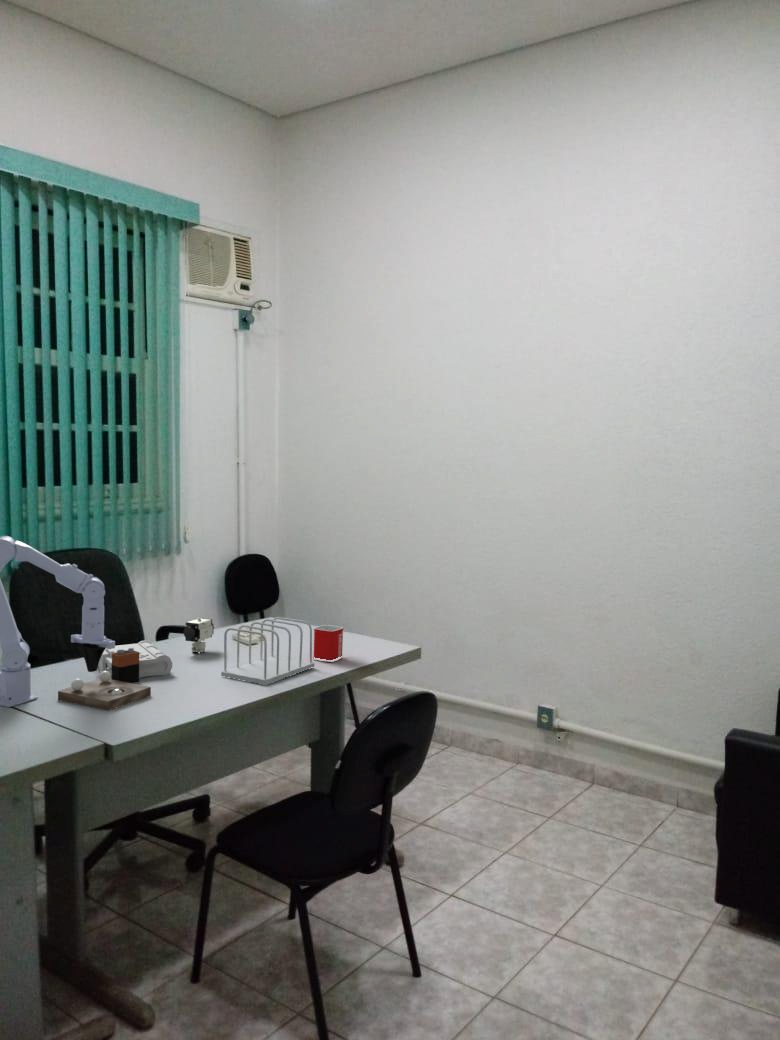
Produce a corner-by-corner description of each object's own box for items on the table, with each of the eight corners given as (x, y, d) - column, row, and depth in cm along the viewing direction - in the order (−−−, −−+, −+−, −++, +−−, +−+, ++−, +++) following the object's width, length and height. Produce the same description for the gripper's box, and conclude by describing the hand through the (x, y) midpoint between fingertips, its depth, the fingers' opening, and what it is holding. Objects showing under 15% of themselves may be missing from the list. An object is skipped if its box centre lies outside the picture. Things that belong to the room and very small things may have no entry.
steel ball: (114, 704, 224) (124, 697, 224) (107, 695, 223) (116, 688, 223) (117, 700, 227) (126, 693, 227) (109, 692, 226) (119, 684, 227)
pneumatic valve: (182, 655, 277) (183, 619, 276) (202, 648, 288) (202, 614, 287) (196, 657, 275) (197, 621, 275) (216, 649, 286) (216, 615, 286)
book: (148, 655, 277) (148, 633, 276) (173, 676, 253) (173, 651, 252) (88, 662, 267) (87, 639, 266) (108, 684, 243) (107, 659, 242)
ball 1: (77, 692, 223) (77, 681, 222) (68, 691, 224) (68, 679, 224) (86, 690, 226) (86, 678, 225) (77, 688, 227) (77, 676, 227)
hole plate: (107, 710, 216) (107, 701, 216) (57, 700, 224) (58, 690, 224) (150, 695, 231) (150, 687, 230) (102, 686, 238) (102, 677, 238)
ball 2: (105, 684, 232) (105, 673, 231) (96, 682, 233) (96, 671, 233) (113, 681, 235) (113, 670, 234) (105, 679, 236) (105, 668, 236)
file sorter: (272, 661, 274) (273, 614, 273) (315, 669, 266) (316, 621, 264) (220, 677, 253) (221, 626, 252) (265, 686, 244) (266, 634, 243)
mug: (332, 663, 273) (332, 631, 272) (310, 660, 277) (311, 628, 276) (350, 656, 284) (351, 625, 283) (329, 652, 287) (330, 622, 286)
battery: (110, 683, 241) (111, 650, 240) (131, 679, 246) (131, 646, 246) (119, 686, 238) (119, 652, 238) (139, 682, 244) (140, 648, 243)
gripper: (123, 623, 228) (122, 671, 229) (85, 617, 235) (84, 664, 236) (104, 627, 222) (103, 677, 223) (65, 620, 228) (64, 669, 229)
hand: (92, 671), depth 229 cm, fingers closed
